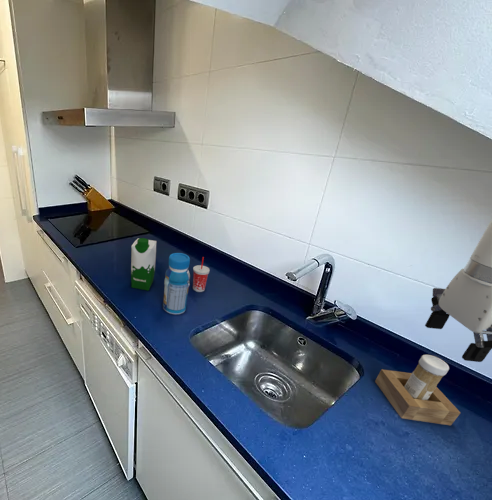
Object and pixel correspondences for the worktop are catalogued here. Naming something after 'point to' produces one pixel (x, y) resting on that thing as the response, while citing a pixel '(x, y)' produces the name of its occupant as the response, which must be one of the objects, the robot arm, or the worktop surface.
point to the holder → (415, 400)
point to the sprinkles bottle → (426, 377)
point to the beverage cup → (200, 277)
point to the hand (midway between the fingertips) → (450, 342)
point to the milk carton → (143, 263)
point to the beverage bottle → (176, 283)
